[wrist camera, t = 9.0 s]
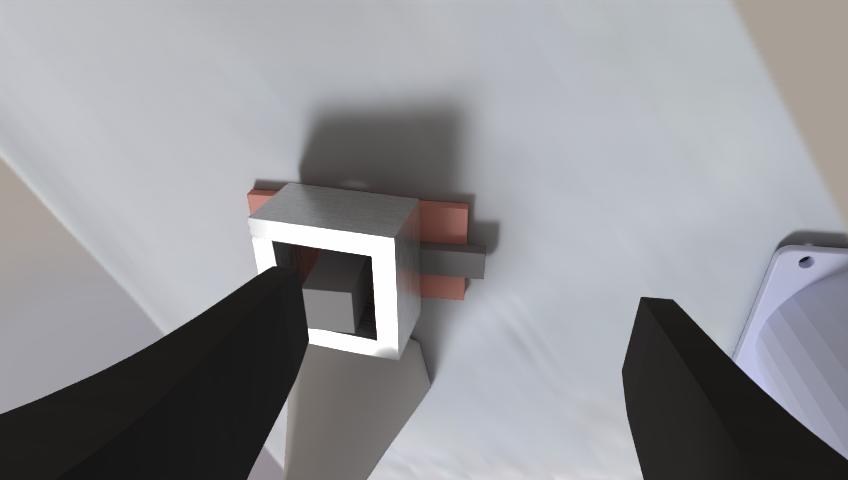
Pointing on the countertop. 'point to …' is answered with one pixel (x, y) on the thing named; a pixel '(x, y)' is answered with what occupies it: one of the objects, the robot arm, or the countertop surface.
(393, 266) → the link
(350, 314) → the keeper hook
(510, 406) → the countertop surface
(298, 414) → the flask
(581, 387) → the countertop surface
